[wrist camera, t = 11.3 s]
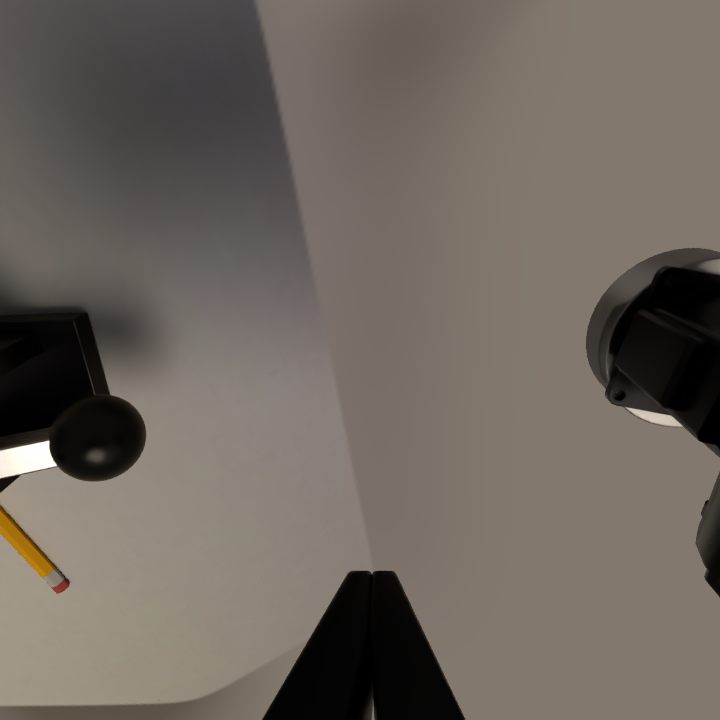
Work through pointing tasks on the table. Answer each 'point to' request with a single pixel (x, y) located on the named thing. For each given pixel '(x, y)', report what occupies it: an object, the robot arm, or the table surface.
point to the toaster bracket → (45, 369)
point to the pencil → (32, 553)
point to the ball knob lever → (79, 441)
